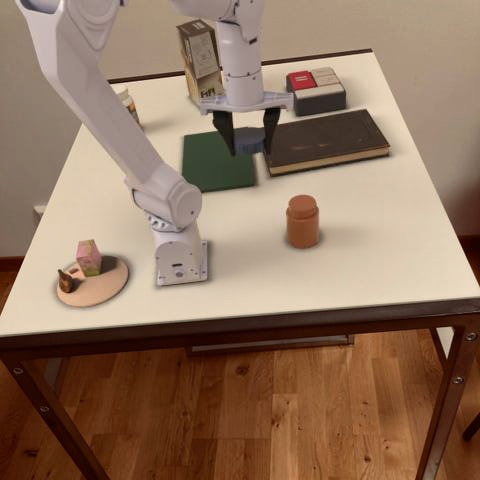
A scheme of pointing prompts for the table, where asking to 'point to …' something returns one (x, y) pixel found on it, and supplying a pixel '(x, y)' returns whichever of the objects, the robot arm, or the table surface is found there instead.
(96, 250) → the dessert plate
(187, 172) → the mat
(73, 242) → the table surface
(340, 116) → the hardcover book
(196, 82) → the coffee box
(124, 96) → the pill bottle
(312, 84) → the grey box
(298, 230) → the jar
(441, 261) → the table surface
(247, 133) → the lid
